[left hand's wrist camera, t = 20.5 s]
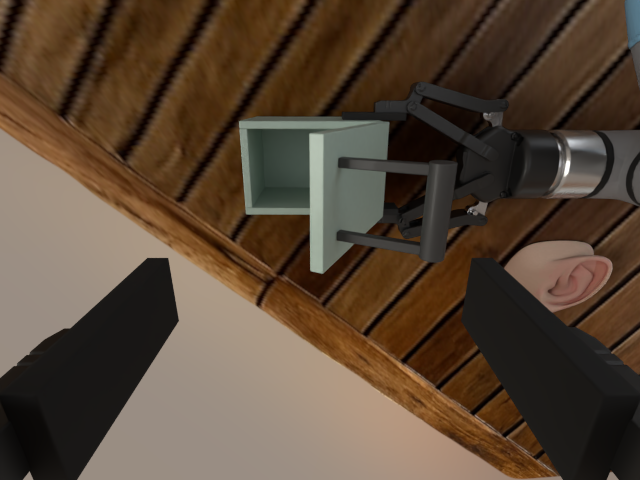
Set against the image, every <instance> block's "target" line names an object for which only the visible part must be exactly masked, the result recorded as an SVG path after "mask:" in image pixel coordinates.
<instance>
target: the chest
mask: <svg viewBox="0 0 640 480" xmlns="http://www.w3.org/2000/svg"><path fill="white" fill-rule="evenodd" d="M374 122H383V121H380V120H343V119H342V117H261V116H257V117H253V118H249V119H245V120H242V121H239V127H240V141H241V154H242V167H243V180H244V193H245V206H246V214H310V149H309V134H310V133H314V132H320V131H326V130H332V129H338V128H344V127H350V126H356V125H362V124H368V123H374Z"/></svg>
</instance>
